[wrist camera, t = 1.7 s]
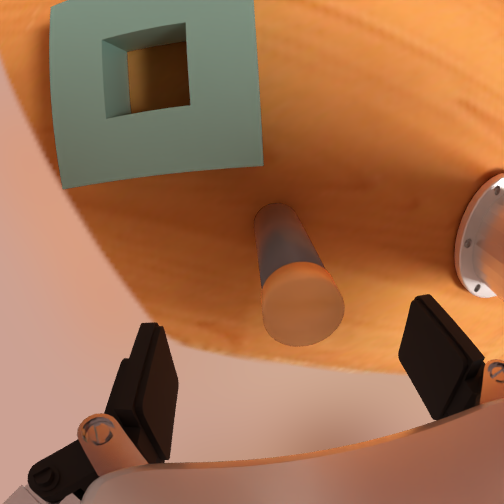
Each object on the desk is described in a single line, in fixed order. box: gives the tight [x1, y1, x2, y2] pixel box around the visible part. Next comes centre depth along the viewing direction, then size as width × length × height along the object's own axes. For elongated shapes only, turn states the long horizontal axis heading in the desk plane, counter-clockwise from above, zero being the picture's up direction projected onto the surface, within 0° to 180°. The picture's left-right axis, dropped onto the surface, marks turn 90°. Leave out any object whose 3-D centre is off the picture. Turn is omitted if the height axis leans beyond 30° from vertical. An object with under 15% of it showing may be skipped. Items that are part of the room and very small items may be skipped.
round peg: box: [254, 203, 344, 346], centre depth 18 cm, size 3×3×11 cm
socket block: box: [49, 0, 264, 189], centre depth 16 cm, size 12×12×4 cm
